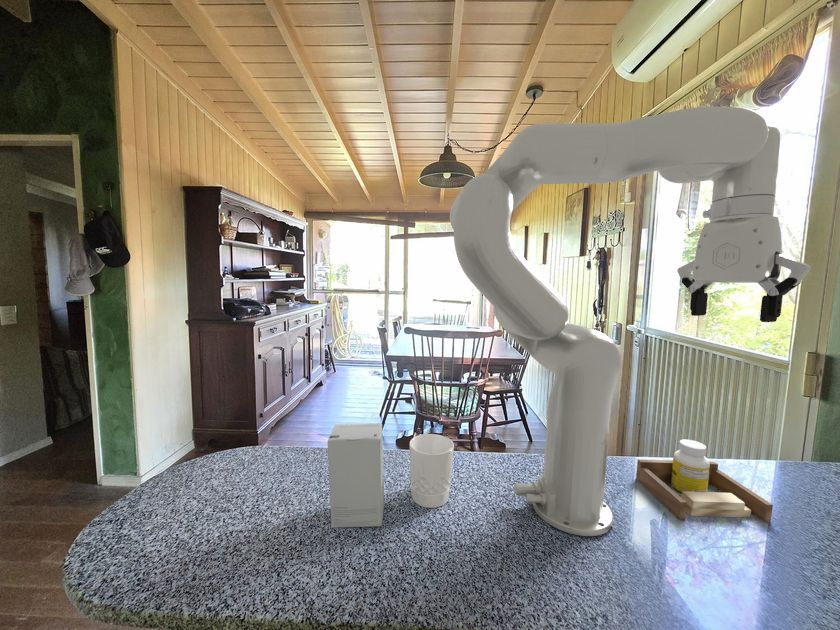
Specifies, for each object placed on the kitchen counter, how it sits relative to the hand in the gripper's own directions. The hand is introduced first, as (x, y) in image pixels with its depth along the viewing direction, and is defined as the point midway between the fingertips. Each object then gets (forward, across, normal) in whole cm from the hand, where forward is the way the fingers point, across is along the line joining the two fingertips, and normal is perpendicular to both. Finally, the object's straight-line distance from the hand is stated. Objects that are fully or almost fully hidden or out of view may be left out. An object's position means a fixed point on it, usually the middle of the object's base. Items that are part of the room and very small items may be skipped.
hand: (730, 318), depth 59 cm
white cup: (+33, -21, -45) cm, 59 cm away
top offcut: (+32, 0, -1) cm, 32 cm away
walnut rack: (+34, -2, 0) cm, 34 cm away
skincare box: (+33, -20, -58) cm, 70 cm away
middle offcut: (+33, 0, -1) cm, 33 cm away
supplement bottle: (+34, -5, +1) cm, 34 cm away
